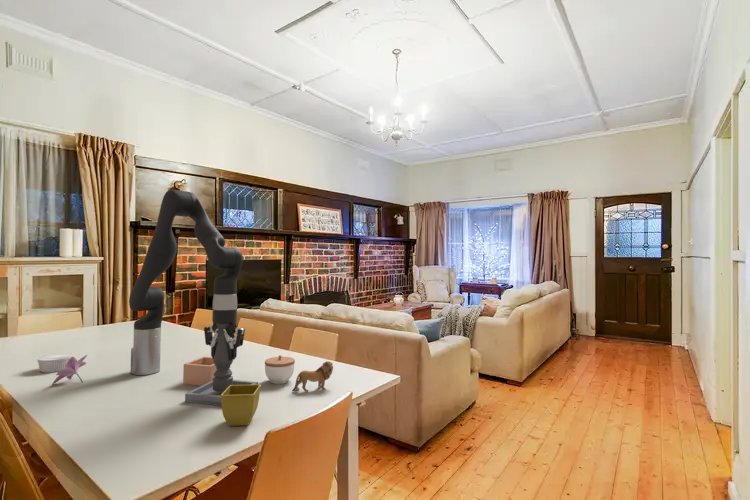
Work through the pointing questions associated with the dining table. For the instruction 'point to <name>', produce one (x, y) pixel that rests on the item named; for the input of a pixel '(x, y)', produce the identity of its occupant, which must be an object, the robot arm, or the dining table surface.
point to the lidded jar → (279, 369)
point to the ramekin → (53, 362)
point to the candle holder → (222, 361)
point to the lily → (70, 369)
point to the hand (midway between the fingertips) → (223, 358)
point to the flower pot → (240, 403)
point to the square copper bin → (199, 371)
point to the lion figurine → (315, 376)
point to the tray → (210, 393)
